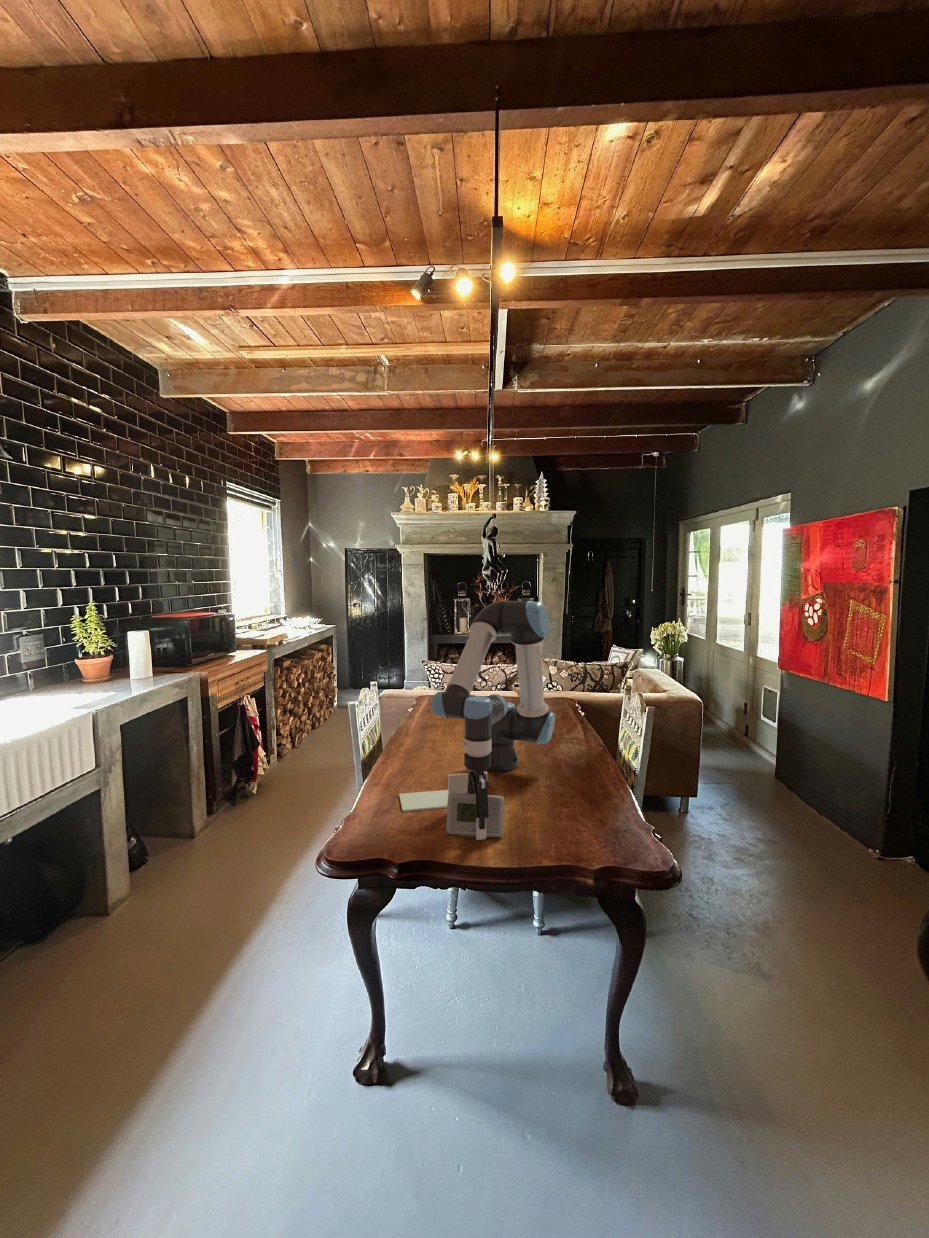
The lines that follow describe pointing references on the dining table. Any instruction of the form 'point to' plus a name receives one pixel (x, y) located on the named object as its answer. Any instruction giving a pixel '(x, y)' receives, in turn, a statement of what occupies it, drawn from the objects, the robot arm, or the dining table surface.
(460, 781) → the screen
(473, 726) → the robot arm
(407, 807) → the mat
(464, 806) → the digital clock
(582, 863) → the dining table surface
